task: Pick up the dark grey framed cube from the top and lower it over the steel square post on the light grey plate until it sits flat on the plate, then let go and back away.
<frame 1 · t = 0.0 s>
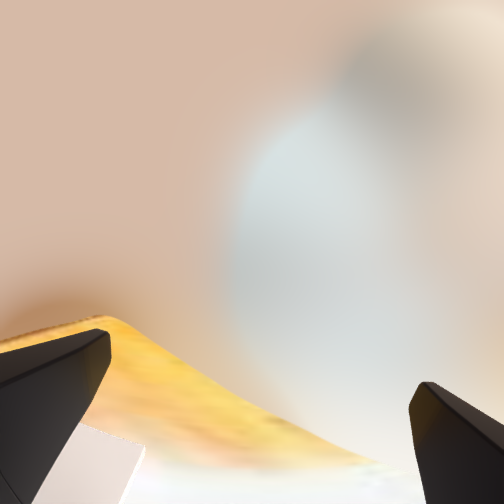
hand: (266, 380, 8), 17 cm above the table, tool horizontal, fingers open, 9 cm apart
post plate: (5, 497, 11), on the table
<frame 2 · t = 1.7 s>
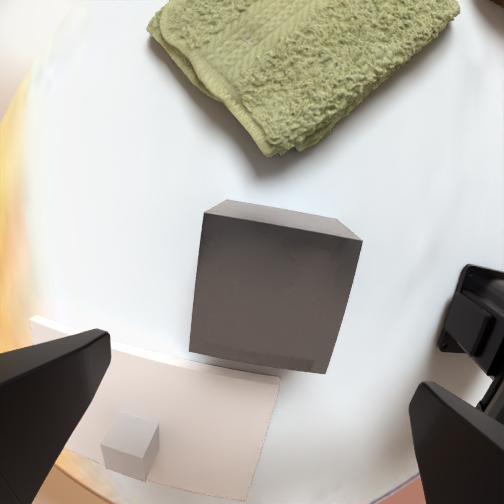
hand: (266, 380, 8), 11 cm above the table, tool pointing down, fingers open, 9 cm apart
washcloth: (313, 14, 16), on the table
post plate: (143, 423, 23), on the table
dark grey framed cube: (272, 262, 19), on the table
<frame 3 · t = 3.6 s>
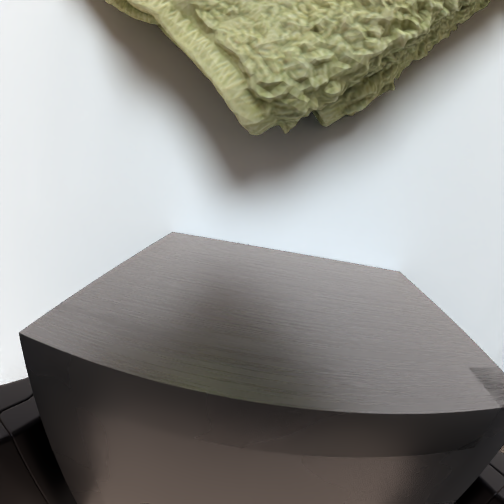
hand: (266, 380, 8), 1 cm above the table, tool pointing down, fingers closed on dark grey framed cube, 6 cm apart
dark grey framed cube: (268, 354, 9), on the table, touching gripper
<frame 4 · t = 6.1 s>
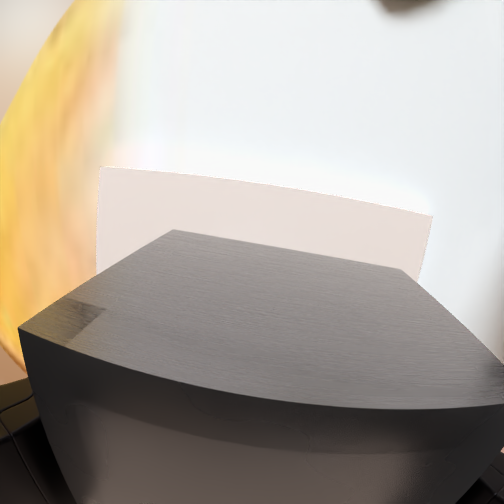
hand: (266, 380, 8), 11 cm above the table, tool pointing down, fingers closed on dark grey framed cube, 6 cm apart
post plate: (245, 312, 20), on the table
dark grey framed cube: (269, 353, 9), point 10 cm above the table, touching gripper
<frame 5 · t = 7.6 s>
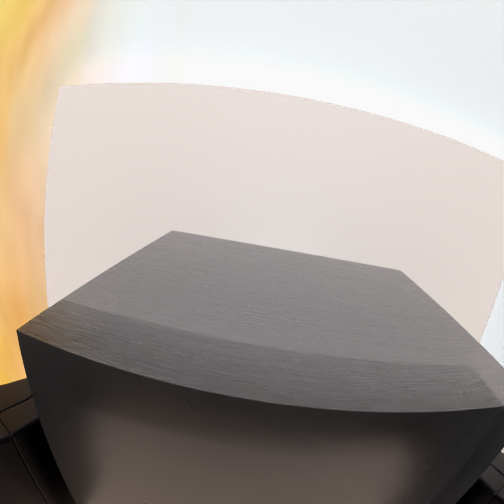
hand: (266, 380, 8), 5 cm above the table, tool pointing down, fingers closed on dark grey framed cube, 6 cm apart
post plate: (269, 307, 13), on the table
dark grey framed cube: (268, 354, 9), point 4 cm above the table, touching gripper
when the fingers open (3 cm above the table, at t = 8.9 s): dark grey framed cube stays where it is, resting on post plate.
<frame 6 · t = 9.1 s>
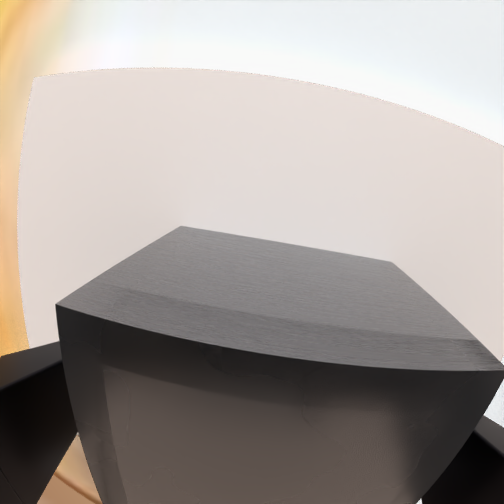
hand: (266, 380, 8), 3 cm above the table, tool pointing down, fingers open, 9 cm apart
post plate: (269, 328, 11), on the table
dark grey framed cube: (270, 340, 10), point 1 cm above the table, touching post plate
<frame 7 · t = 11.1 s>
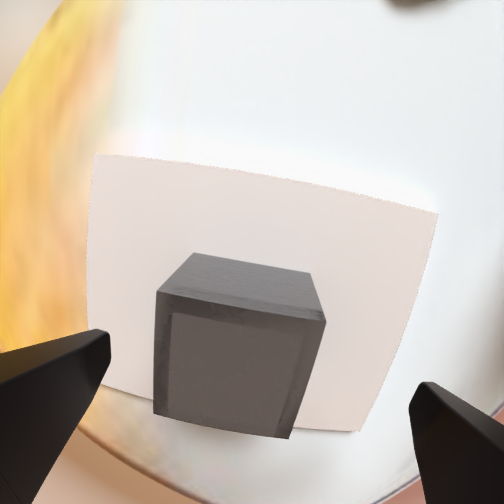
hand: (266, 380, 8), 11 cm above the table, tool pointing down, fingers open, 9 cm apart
post plate: (243, 310, 19), on the table
dark grey framed cube: (242, 316, 18), point 1 cm above the table, touching post plate
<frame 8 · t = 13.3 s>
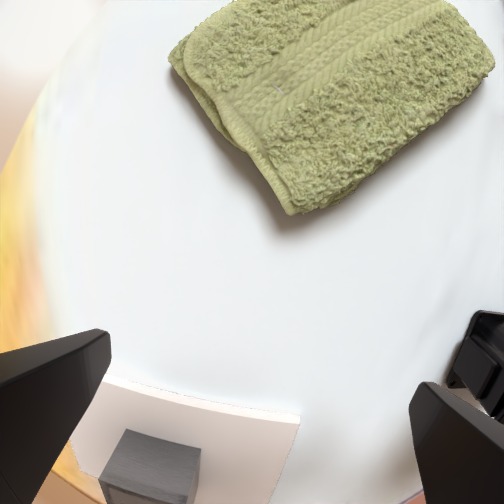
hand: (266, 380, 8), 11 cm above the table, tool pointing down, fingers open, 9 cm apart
washcloth: (345, 57, 16), on the table
post plate: (166, 453, 24), on the table
dark grey framed cube: (163, 461, 23), point 1 cm above the table, touching post plate
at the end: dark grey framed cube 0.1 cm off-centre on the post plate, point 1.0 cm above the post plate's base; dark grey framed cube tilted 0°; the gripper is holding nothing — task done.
